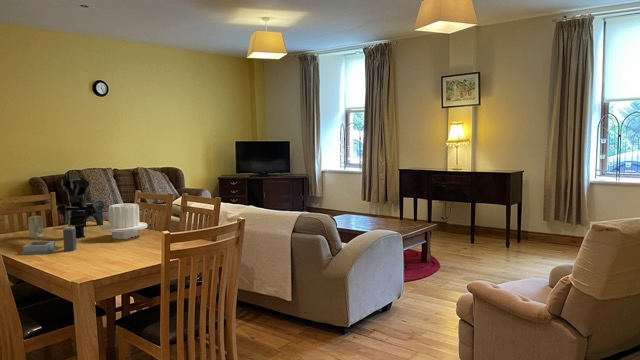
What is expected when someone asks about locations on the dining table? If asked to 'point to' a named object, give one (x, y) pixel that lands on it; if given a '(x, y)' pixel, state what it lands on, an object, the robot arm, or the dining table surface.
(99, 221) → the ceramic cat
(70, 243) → the dark gray plug block
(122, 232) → the ribbed cylinder on disc
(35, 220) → the skincare box
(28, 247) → the socket holder
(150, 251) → the dining table surface
